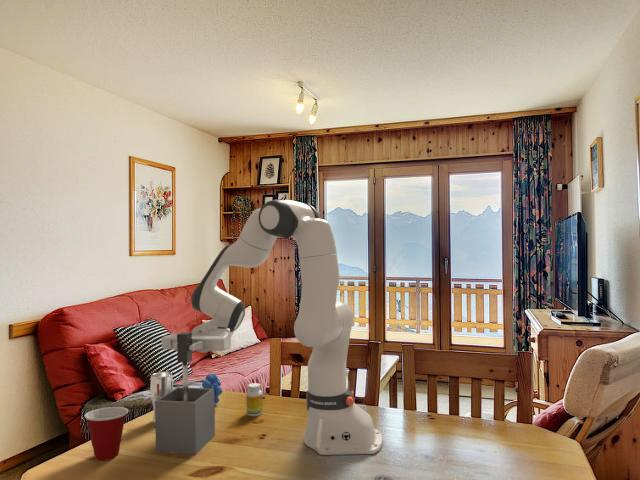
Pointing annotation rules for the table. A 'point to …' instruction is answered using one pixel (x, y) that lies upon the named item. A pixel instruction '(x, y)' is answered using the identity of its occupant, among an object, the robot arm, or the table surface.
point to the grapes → (213, 386)
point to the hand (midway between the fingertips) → (183, 347)
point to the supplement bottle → (254, 400)
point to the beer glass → (160, 386)
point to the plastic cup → (106, 431)
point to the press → (184, 421)
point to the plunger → (184, 358)
